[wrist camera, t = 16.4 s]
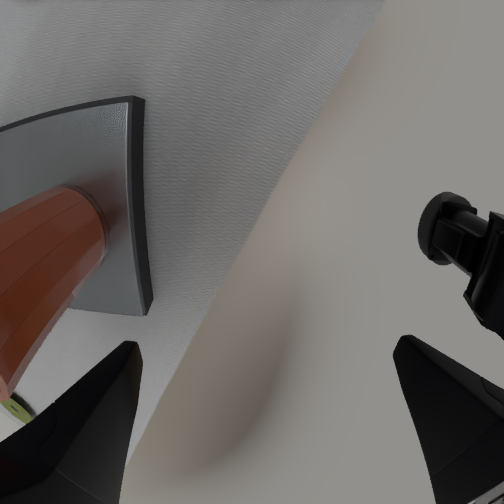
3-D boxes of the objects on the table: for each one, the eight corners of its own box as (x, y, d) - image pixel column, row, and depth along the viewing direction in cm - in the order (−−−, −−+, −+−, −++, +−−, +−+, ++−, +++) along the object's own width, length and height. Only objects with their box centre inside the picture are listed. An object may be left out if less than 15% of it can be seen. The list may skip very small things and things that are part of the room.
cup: (66, 165, 14) (-83, 231, 3) (124, 247, 17) (26, 389, 6) (20, 224, 15) (-85, 307, 4) (70, 292, 18) (-7, 407, 7)
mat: (16, 412, 33) (13, 418, 31) (-12, 378, 28) (-15, 384, 27) (48, 424, 34) (45, 431, 32) (18, 390, 29) (14, 397, 27)
